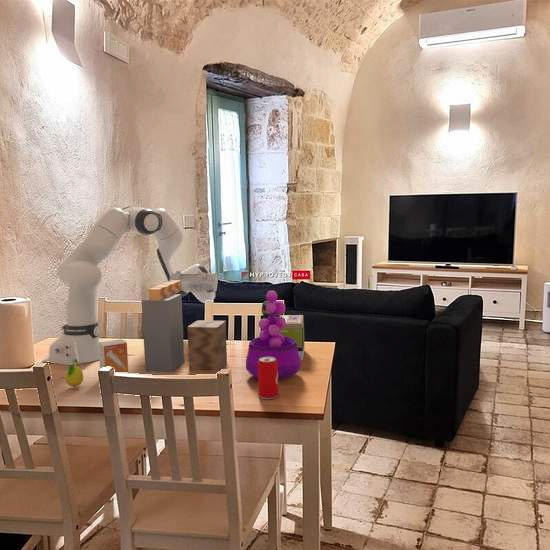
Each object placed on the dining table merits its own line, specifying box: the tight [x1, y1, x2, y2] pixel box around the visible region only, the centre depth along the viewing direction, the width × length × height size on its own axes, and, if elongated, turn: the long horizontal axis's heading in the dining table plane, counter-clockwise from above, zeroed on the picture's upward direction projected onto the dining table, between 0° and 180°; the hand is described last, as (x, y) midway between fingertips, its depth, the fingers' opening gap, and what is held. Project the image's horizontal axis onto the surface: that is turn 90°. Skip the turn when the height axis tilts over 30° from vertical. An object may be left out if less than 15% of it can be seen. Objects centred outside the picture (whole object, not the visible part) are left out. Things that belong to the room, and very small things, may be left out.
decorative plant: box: [245, 290, 302, 381], centre depth 182 cm, size 19×18×30 cm
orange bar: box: [147, 280, 182, 301], centre depth 199 cm, size 22×4×4 cm, turn 169°
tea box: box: [279, 314, 305, 361], centre depth 209 cm, size 15×10×15 cm, turn 175°
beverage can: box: [257, 357, 280, 400], centre depth 165 cm, size 6×6×12 cm
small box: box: [99, 338, 129, 373], centre depth 185 cm, size 8×6×13 cm
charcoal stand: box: [141, 294, 185, 373], centre depth 197 cm, size 13×10×26 cm
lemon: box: [64, 358, 84, 389], centre depth 177 cm, size 7×6×10 cm
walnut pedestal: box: [187, 319, 228, 372], centre depth 197 cm, size 11×11×16 cm
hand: (188, 272), depth 223 cm, fingers open, 8 cm apart
